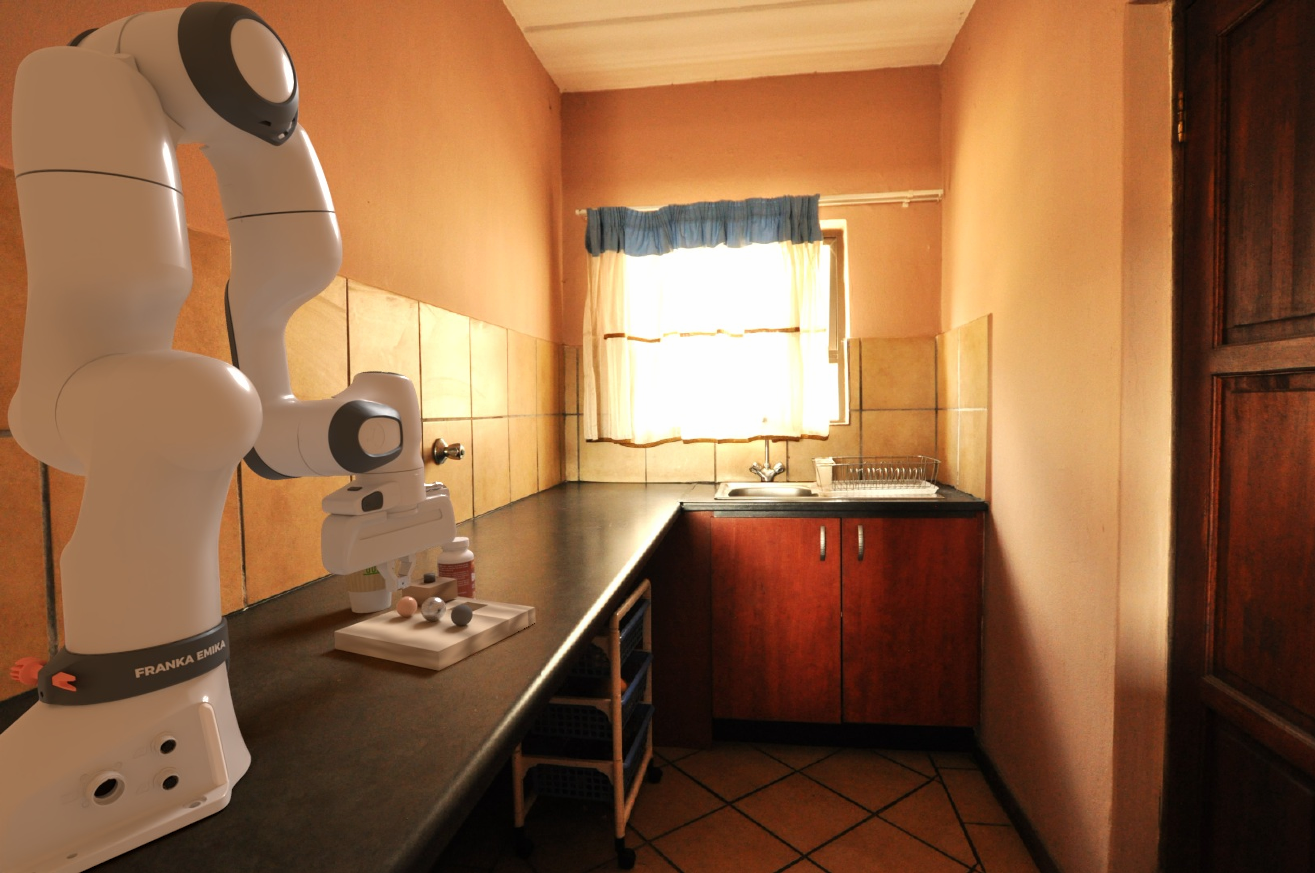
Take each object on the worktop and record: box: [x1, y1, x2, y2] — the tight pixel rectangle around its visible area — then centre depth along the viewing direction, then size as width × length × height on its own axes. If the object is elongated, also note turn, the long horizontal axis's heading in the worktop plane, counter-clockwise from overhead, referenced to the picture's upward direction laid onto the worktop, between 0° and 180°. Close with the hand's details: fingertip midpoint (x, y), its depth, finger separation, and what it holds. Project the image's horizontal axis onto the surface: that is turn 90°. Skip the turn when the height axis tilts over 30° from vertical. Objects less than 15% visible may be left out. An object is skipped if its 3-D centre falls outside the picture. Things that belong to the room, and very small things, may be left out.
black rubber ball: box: [451, 604, 473, 626], centre depth 94 cm, size 3×3×3 cm
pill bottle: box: [436, 536, 477, 599], centre depth 115 cm, size 6×6×11 cm
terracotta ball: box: [395, 596, 417, 617], centre depth 99 cm, size 3×3×3 cm
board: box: [334, 597, 537, 671], centre depth 98 cm, size 20×20×2 cm
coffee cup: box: [344, 565, 395, 614], centre depth 113 cm, size 10×10×15 cm
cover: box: [401, 572, 458, 606], centre depth 107 cm, size 6×6×4 cm
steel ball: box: [421, 597, 446, 621], centre depth 97 cm, size 4×4×4 cm
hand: (398, 589), depth 91 cm, fingers closed
